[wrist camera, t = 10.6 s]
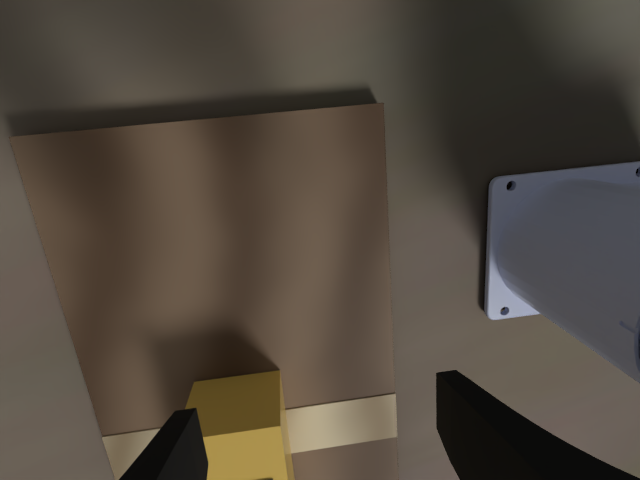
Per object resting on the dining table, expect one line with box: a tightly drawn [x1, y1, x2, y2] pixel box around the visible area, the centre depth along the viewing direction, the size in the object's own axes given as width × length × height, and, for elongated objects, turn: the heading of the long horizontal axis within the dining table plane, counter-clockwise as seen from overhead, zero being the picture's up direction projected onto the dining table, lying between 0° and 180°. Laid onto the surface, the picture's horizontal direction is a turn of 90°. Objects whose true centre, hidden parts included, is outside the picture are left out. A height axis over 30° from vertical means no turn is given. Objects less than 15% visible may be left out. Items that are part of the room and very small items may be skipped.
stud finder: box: [185, 370, 295, 480], centre depth 19 cm, size 4×8×4 cm, turn 5°
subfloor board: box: [9, 103, 399, 480], centre depth 20 cm, size 16×24×1 cm, turn 5°
